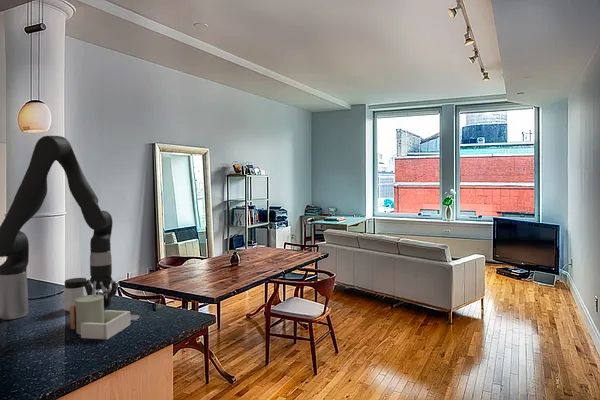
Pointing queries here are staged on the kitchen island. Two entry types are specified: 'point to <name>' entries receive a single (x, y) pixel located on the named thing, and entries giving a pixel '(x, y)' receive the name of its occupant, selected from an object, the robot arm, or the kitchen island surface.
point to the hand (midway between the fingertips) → (101, 306)
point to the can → (89, 310)
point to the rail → (134, 317)
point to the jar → (73, 291)
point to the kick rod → (73, 313)
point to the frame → (106, 325)
